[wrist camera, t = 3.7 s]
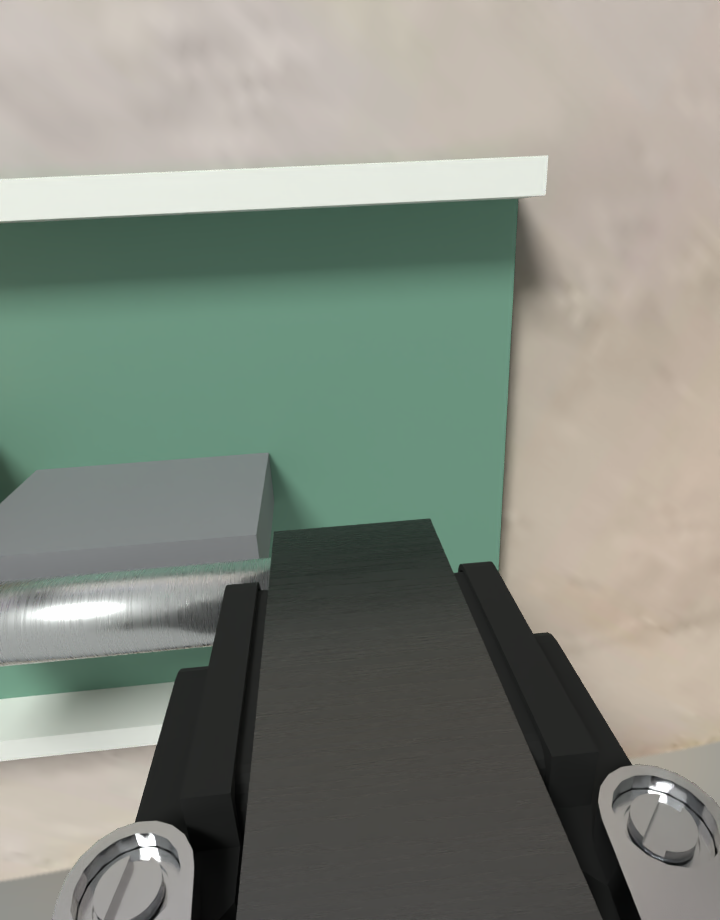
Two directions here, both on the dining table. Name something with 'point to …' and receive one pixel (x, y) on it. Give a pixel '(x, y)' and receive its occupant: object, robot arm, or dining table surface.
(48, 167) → the dining table surface
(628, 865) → the robot arm
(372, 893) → the copper block with rod
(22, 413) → the pitch
